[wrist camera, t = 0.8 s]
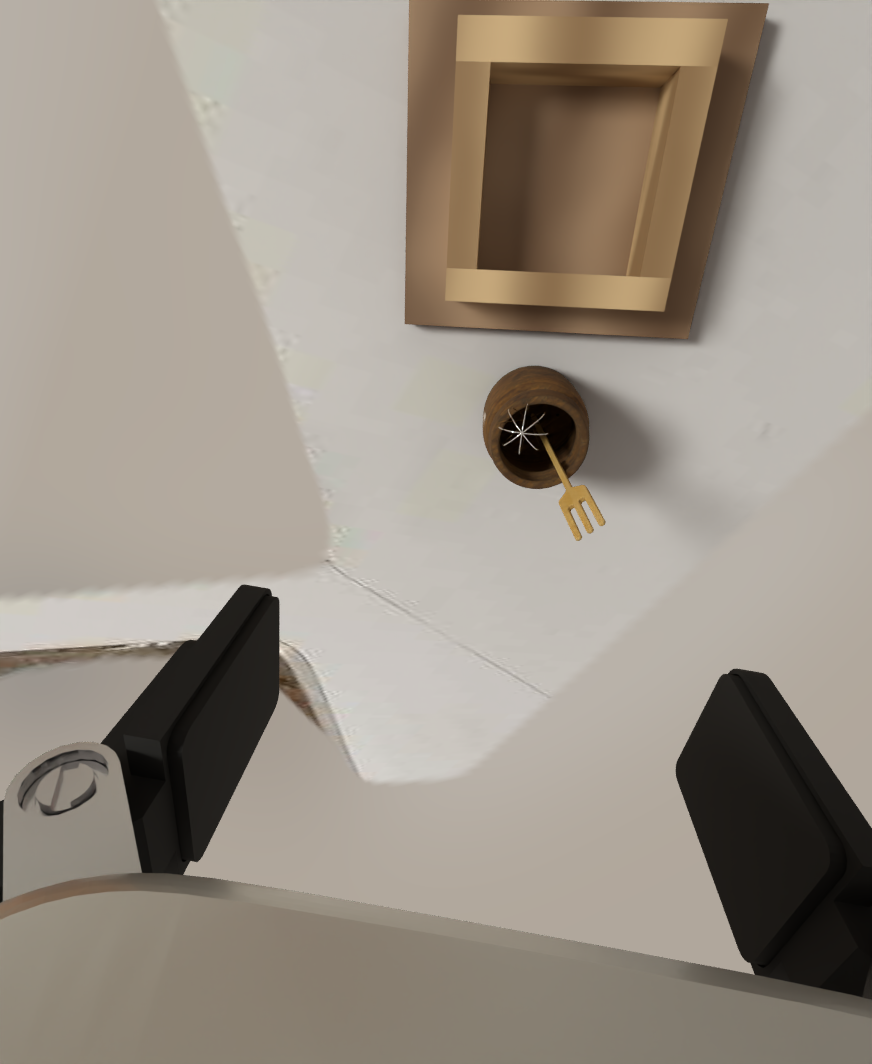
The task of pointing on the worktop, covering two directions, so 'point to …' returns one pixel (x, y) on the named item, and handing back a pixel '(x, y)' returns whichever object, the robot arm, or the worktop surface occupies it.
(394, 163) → the worktop surface
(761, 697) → the robot arm
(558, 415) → the utensil holder
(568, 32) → the socket board
